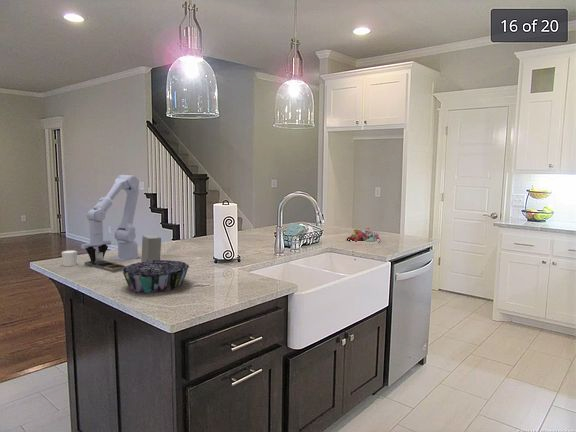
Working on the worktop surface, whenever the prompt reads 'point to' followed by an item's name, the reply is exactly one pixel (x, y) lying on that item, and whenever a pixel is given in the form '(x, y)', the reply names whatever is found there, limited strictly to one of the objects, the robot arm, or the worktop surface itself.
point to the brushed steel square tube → (98, 257)
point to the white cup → (69, 258)
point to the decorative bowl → (155, 275)
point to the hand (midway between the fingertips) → (97, 261)
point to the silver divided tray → (107, 266)
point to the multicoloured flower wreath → (364, 235)
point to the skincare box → (151, 248)
